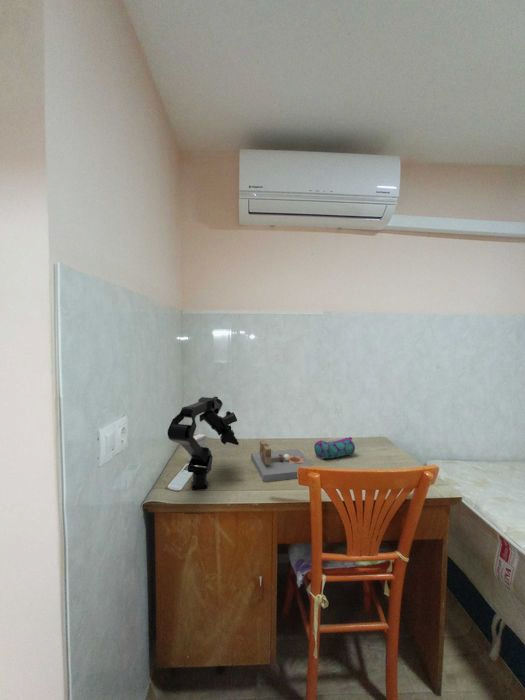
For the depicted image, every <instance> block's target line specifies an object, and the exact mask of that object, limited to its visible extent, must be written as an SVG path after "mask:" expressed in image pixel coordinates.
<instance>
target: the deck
mask: <svg viewBox="0 0 525 700" xmlns="http://www.w3.org/2000/svg"><path fill="white" fill-rule="evenodd" d="M279 454H282V455H283V457H284V455H285V454H288V455H289V457H290V458H289V460H288V461H286V460H284V461H282V462H281V461H280V460H277V461H271V464H267V465H265V463H264V461H263V460H262V458H261V456H260V451H259V452H258V451H257V452H251V453H250V459H251V461H252V463H253V465H254V467H255V469H256V471H257V473H258V475H259V477H260V479H261V480H262V483H266V482H267V481H268V482H275V481H274V480H277V481H284V480H283V479H286V480H291V479H293V480H294V479H298V478H297V468H298V466H315V465H314V463H312V462H311V461H310V460H309V459H308V457H306V456H305V455H304V453H303V452H302V451H300V449H299V448H295V449H284V450H271V457H272V456H279Z"/></svg>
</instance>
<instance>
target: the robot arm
mask: <svg viewBox="0 0 525 700" xmlns="http://www.w3.org/2000/svg"><path fill="white" fill-rule="evenodd" d="M222 407H223V402H222V400H220V399H219V396H213V397H208V396H207V397H205V396H202V397H200V398H199V399H198V400H197V402H195V403H193V404H190V405H187V406H182V407H181V410H180V412H179V413H178V414H177V415H176V416H174V418H173V419H172V420H171V423H170V424H169V427H168V429H167V439H169V440H170V441H171V442H173V443H175V444H176V443H177V444H179V445H181V446H182V448H184V450H185V451H186V452H187V454H188V453H189V454H190V455H191V459H190V461H188V462H189V463H188V465H187V472H188V473H192V480H191V482H190V483H191V490H192V491H196V490H204V489H208V488H209V486H208V479H207V476H208V474H209V473H210V471H211V470H212V465H213V455H212V453H211V451H212V450H210V448H209V447H200V445H199V444H198V443H197V441H196V440H195V439H194V437H193V436H195V435H194V434H195V432H196V430H197V422H196V417H197V416H198V415H199V422H200V423H201V422H203V421H204V422H205V423H206V424H208V426H209V427H210V428H211V430H213V431H215V432H216V433H217V435H218V436H219V437H220V442H221V443H222V444H223V445H226V444H227V443H229V444H232V445H235V446H238V445H239V444H240V442H239V441H238V439H237V436H235V431H234V430H233V429H232V426H231V424H233V423H236V422H238V418H237V416H236V414H235V412H233V411H232V412H231V411H230V410H227V411H226V412H225V415H224V416H223V417H222V416H221V415H220V416H219V413H220V411H221V408H222ZM185 418H189V419H191V424H182V423H181V422H182V421H183V420H184V419H185Z"/></svg>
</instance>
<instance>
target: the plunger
mask: <svg viewBox="0 0 525 700" xmlns="http://www.w3.org/2000/svg"><path fill="white" fill-rule="evenodd" d="M271 451H272V448H271V447H270V446H269V444H268V443H267V442H266V440H260V441H259V452H260V456H261V458H262V460H263V461H264V463H265V465H267V464H271V461H277V460H280V461H281V462H282V461H284V457H283V455H282V454H279V456H272V457H271Z"/></svg>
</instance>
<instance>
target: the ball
mask: <svg viewBox="0 0 525 700" xmlns="http://www.w3.org/2000/svg"><path fill="white" fill-rule="evenodd" d="M289 458H290V457H289V455H288V454H285V455H284V460H286V461H288V460H289Z"/></svg>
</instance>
